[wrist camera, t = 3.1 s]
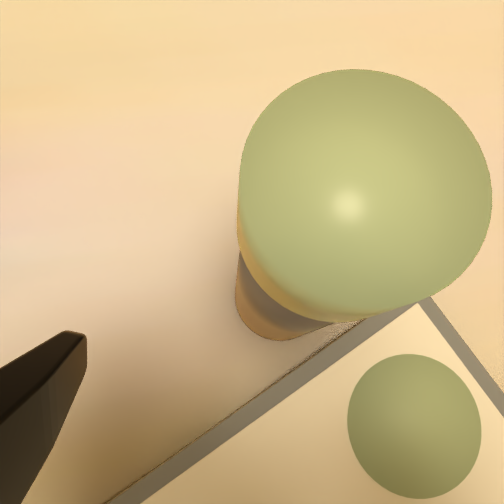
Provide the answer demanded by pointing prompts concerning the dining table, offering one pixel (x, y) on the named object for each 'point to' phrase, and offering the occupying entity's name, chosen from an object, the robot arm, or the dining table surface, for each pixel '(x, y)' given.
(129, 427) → the dining table surface
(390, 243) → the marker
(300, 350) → the dining table surface
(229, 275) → the dining table surface
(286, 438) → the colouring board
